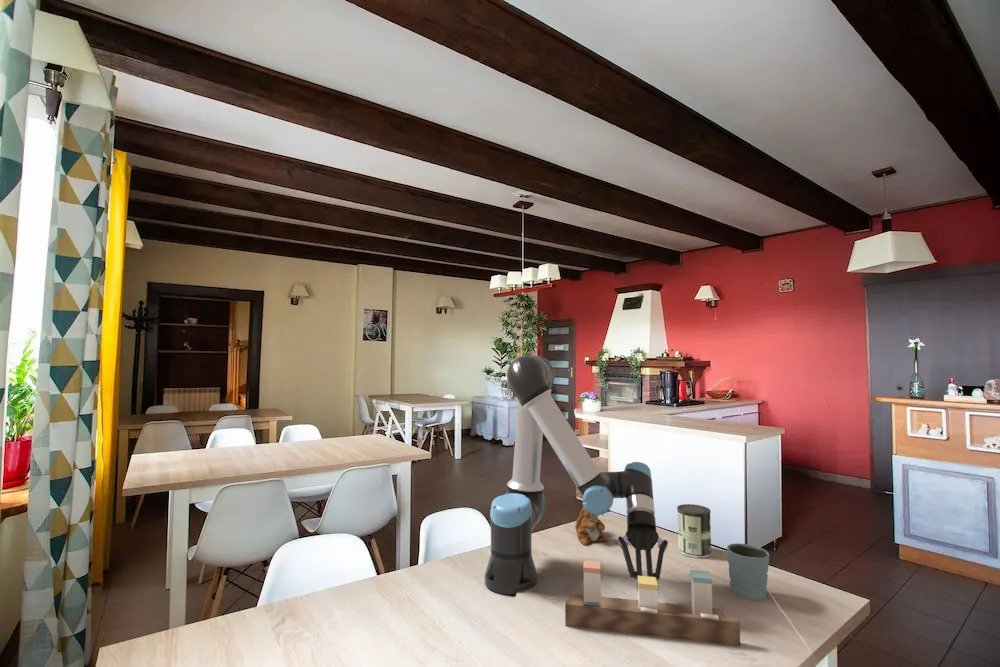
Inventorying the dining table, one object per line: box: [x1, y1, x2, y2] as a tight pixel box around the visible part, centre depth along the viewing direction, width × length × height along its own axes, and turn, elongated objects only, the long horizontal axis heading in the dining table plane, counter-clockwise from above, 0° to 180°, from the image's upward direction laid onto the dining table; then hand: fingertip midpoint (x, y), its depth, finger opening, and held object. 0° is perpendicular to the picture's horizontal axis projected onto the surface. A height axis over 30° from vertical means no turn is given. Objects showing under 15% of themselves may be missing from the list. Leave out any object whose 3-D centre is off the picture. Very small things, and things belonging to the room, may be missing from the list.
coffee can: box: [676, 503, 712, 559], centre depth 159 cm, size 10×10×14 cm
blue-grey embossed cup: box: [726, 543, 770, 601], centre depth 130 cm, size 10×10×12 cm
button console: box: [564, 592, 741, 647], centre depth 117 cm, size 38×16×6 cm, turn 78°
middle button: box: [637, 575, 659, 610], centre depth 114 cm, size 4×4×10 cm
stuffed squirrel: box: [574, 502, 609, 546], centre depth 172 cm, size 10×14×13 cm
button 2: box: [689, 569, 713, 615], centre depth 117 cm, size 4×4×10 cm
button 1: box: [582, 560, 601, 604], centre depth 122 cm, size 4×4×10 cm
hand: (646, 607), depth 117 cm, fingers closed
